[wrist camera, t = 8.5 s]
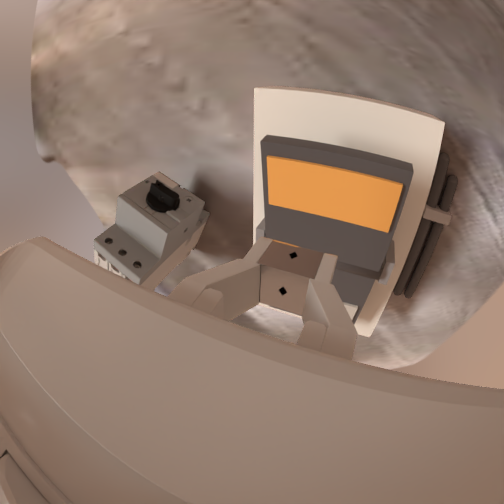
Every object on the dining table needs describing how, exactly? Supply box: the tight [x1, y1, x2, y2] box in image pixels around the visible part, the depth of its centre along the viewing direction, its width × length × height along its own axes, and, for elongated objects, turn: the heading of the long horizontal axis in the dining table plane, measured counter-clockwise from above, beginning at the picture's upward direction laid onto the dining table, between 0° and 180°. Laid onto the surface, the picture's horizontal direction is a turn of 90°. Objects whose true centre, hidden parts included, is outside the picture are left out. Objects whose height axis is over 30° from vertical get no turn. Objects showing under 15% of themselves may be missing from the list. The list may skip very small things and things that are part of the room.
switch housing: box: [253, 86, 445, 337], centre depth 27 cm, size 26×16×10 cm, turn 0°
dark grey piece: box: [394, 153, 458, 298], centre depth 26 cm, size 19×3×2 cm, turn 0°
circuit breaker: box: [94, 172, 210, 291], centre depth 34 cm, size 8×14×15 cm, turn 154°
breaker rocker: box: [260, 135, 414, 324], centre depth 23 cm, size 20×10×2 cm, turn 1°
